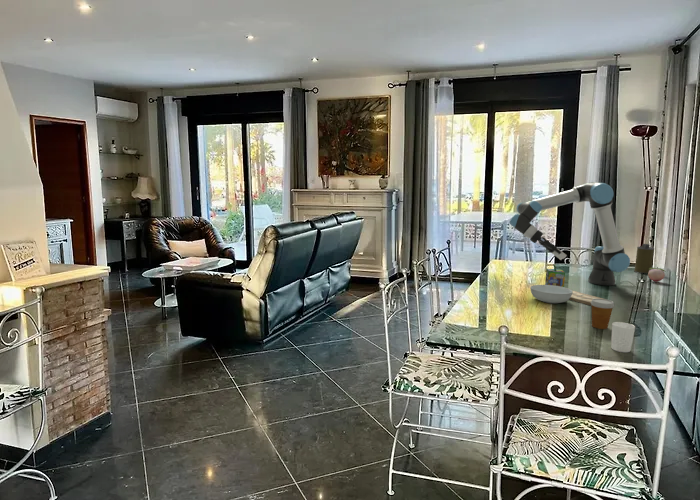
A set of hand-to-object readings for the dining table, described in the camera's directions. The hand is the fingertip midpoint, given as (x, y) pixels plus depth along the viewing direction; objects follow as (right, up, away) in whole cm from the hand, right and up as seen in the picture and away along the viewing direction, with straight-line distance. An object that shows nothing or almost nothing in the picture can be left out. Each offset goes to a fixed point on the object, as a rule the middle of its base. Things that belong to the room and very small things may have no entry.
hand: (563, 257), depth 289 cm
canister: (+82, -11, +65) cm, 105 cm away
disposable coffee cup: (-11, -30, -63) cm, 71 cm away
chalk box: (-4, -19, +5) cm, 20 cm away
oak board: (+3, -22, -14) cm, 26 cm away
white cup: (-16, -35, -91) cm, 99 cm away
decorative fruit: (+73, -16, +33) cm, 81 cm away
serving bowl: (-16, -23, -21) cm, 35 cm away
